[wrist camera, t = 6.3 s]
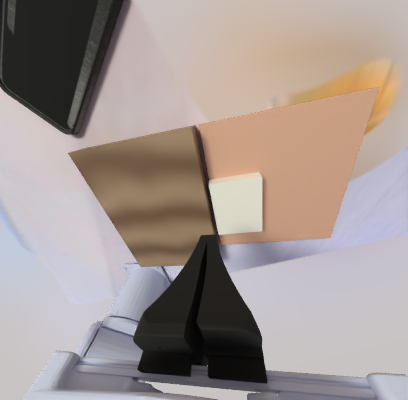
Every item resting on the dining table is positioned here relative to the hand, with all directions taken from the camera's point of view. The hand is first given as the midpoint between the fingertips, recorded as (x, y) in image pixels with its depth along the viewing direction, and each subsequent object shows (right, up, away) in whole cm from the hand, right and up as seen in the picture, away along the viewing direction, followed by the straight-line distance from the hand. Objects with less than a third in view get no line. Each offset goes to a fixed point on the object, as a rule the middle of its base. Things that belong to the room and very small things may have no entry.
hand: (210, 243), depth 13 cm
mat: (+8, +5, +6) cm, 12 cm away
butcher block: (-7, +2, +9) cm, 11 cm away
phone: (-14, +18, +1) cm, 23 cm away
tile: (+4, +3, +7) cm, 9 cm away
